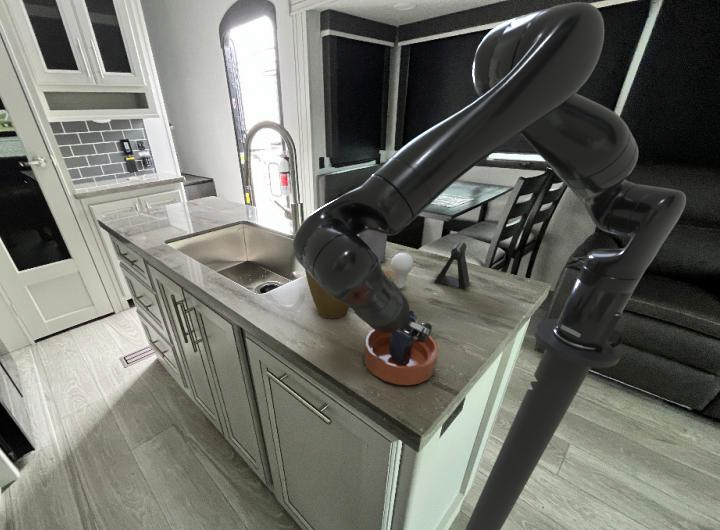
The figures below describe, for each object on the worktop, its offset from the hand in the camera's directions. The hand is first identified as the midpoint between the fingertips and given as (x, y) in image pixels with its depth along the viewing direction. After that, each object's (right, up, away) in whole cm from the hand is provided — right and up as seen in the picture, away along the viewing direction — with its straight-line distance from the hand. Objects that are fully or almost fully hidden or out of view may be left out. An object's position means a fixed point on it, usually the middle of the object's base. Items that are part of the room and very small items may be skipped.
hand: (407, 331), depth 64 cm
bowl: (-1, -7, +3) cm, 7 cm away
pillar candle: (+1, +21, +50) cm, 54 cm away
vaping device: (-1, -6, +2) cm, 6 cm away
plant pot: (-14, +3, +20) cm, 25 cm away
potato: (-2, +7, +26) cm, 27 cm away
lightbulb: (+6, +10, +31) cm, 33 cm away
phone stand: (+23, +12, +34) cm, 42 cm away
